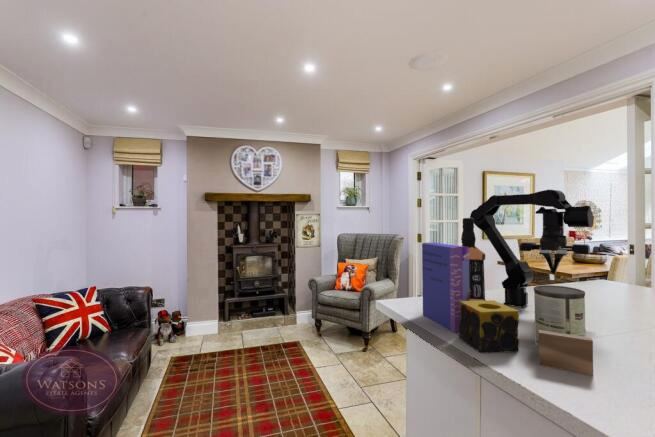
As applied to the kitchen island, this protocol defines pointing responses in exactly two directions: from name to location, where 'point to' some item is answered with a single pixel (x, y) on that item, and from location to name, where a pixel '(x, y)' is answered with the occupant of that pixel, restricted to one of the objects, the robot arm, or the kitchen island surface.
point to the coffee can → (559, 310)
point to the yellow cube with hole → (489, 326)
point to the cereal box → (445, 283)
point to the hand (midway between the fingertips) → (553, 273)
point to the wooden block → (566, 352)
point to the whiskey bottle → (474, 262)
